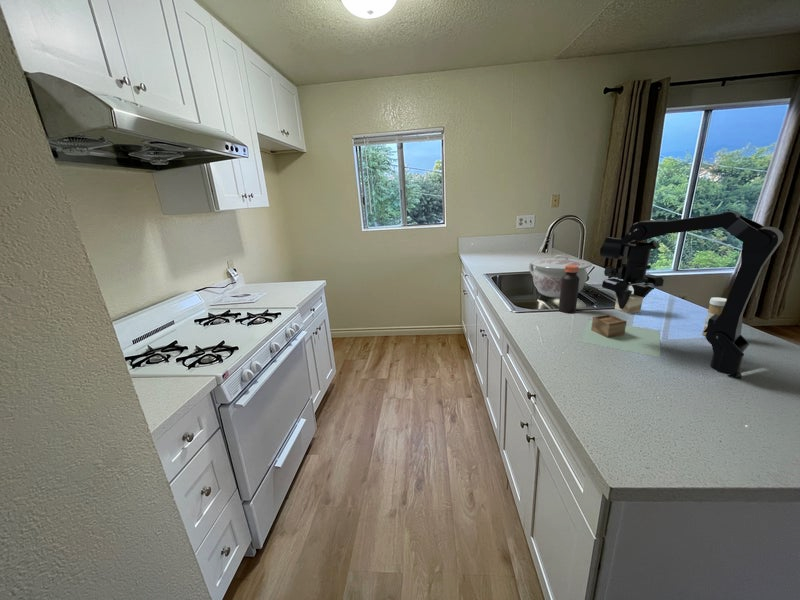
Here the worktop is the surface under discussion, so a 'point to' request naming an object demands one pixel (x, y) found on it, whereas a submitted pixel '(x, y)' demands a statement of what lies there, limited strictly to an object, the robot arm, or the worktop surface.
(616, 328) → the walnut socket block
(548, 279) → the chamber pot
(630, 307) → the ash block
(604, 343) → the board
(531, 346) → the worktop surface
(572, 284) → the vinegar
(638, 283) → the robot arm
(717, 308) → the sprinkles bottle
